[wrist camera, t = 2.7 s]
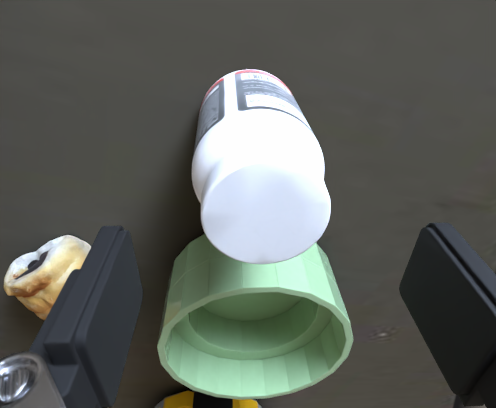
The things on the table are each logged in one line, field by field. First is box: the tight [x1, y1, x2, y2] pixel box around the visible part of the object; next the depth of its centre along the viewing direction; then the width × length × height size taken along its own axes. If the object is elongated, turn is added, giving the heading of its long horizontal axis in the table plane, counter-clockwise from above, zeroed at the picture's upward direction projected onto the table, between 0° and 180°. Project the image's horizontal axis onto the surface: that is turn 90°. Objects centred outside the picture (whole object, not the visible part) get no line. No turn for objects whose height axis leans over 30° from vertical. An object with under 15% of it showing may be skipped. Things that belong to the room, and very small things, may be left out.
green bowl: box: [157, 234, 353, 400], centre depth 26 cm, size 13×13×6 cm
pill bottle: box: [192, 69, 331, 264], centre depth 16 cm, size 6×6×10 cm
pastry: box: [4, 235, 91, 320], centre depth 26 cm, size 9×7×4 cm
